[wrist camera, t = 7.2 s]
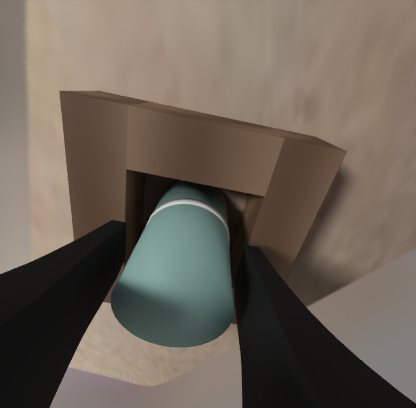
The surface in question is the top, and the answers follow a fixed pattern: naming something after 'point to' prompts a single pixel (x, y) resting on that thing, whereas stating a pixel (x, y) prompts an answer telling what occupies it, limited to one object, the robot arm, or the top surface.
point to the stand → (193, 170)
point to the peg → (179, 271)
